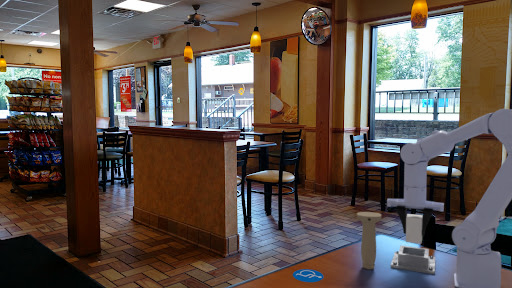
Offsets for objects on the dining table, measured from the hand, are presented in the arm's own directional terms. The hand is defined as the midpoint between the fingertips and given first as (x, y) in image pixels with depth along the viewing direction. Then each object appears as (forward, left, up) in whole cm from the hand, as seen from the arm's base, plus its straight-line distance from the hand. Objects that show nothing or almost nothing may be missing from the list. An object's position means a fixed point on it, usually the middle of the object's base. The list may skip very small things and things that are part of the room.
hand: (414, 233), depth 107 cm
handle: (+11, +8, -9) cm, 16 cm away
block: (0, 0, -2) cm, 2 cm away
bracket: (0, 0, -9) cm, 9 cm away
